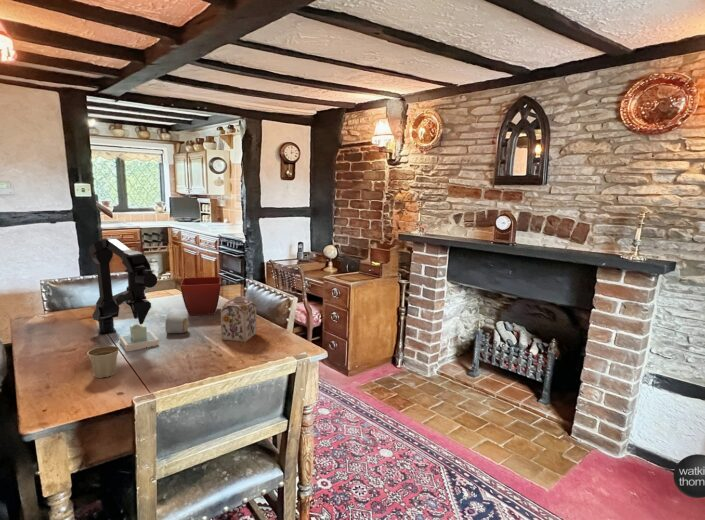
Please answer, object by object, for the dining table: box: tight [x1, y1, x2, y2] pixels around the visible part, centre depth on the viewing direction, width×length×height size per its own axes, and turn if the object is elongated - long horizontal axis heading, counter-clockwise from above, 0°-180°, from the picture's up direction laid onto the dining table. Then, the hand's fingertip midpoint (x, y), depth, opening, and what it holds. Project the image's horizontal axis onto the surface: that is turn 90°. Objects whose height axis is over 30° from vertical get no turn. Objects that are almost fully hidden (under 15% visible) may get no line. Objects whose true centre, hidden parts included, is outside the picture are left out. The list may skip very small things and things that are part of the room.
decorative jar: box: [220, 295, 258, 343], centre depth 181 cm, size 12×12×18 cm
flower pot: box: [86, 345, 120, 379], centre depth 142 cm, size 9×9×9 cm
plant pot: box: [179, 276, 222, 316], centre depth 216 cm, size 19×19×17 cm
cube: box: [129, 323, 148, 341], centre depth 170 cm, size 5×5×5 cm
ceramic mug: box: [164, 315, 189, 334], centre depth 187 cm, size 11×8×8 cm
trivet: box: [119, 330, 160, 352], centre depth 171 cm, size 12×12×3 cm
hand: (138, 321), depth 169 cm, fingers open, 9 cm apart
